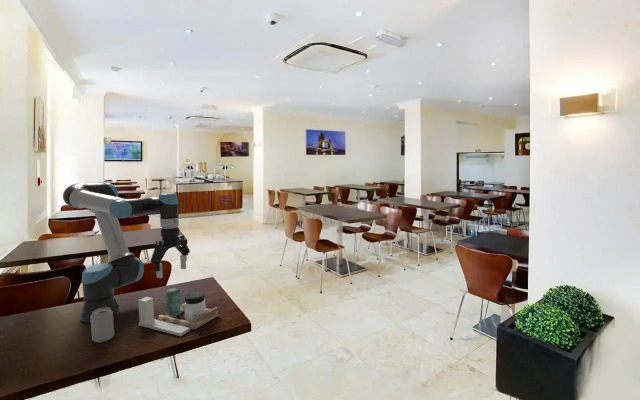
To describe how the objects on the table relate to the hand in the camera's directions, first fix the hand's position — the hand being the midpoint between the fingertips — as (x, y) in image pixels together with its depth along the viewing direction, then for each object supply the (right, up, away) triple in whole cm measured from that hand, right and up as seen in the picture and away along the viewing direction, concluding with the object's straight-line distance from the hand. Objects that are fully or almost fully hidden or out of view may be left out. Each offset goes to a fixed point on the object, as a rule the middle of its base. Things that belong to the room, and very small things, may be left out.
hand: (172, 273), depth 151 cm
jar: (+12, -21, -3) cm, 24 cm away
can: (-19, -23, -18) cm, 35 cm away
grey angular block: (+1, -22, -10) cm, 24 cm away
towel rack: (+8, -21, -1) cm, 22 cm away
